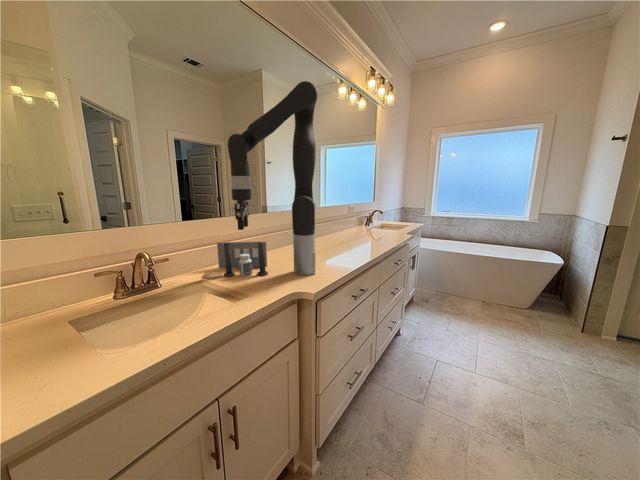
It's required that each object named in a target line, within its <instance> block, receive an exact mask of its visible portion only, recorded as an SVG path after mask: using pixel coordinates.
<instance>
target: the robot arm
mask: <svg viewBox="0 0 640 480" xmlns="http://www.w3.org/2000/svg"><path fill="white" fill-rule="evenodd" d="M317 100H318V90H317V88H316V86H315V85H314V84H313V82H311V81H307V80H305V81H301V82H299V83H297V85H296V86H295V87H293V88H292V90H291V91H290V92H289V93H288V94H287V95H286V96H285V97H284V98H283V99H282V100H281V101H279V102H278V103H277V104H276V105H274V106H273V107H271V108H270V109H269V110H268V111H266V112H265V113H263V114H262V115H261V116H260V117H258V118H257V119H255V120H254V121H253V122H251V123H250V124H249V125H248V126H247V128H246V130H245V131H244V132H242V133H241V134H240V133H233V134H231V135H230V136H229V137H228V141H227V150H228V156H229V161H230V162H229V163H230V177H231V178H230V189H231V200H233V201H236V202H237V203H235V204H234V212H235V214H234V215H235V217H234V218H235V220H236V221H237V229H238V231H243V230H244V229H245V228H247V227H249V221H248V220H249V219H248V218H249V215H250V212H249V210H250V209H249V201H251V200H252V185H251V184H252V183H251V178H250V176H251V175H250V164H249V162H248V161H249V160H248V153H249V152H251V150H253V149H254V148H255V147H256V146H257V145H258V144H259V143H260V142H262V141H263V140H265V139H266V138H268V137H269V136H270V135H272V134H273V133H274V132H275V131H277V130H278V129H279V128H280V127H281V126H282V125H283V124H284V123H286V121H287V120H288V119H289V118H290V117H292V116H293V115H294V133H293V141H292V167H293V169H292V170H293V176H294V186H295V187H294V196H293V202H292V204H291V205H292V206H291V213H292V214H291V219H292V221H291V223H292V233H293V234H292V235H293V236H292V239H293V241H292V242H293V246H292V247H293V250H292V251H293V273H294V274H295V275H298V276H310V275H315V274H316V249H315V247H316V241H315V239H316V235H315V231H316V229H315V228H316V226H315V225H316V224H315V223H316V220H315V219H316V218H315V217H316V207H315V202H314V196H313V195H314V193H313V180H314V175H315V167H316V141H315V140H316V139H315V134H314V133H315V132H314V115H315V107H316V104H317Z"/></svg>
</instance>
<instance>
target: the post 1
mask: <svg viewBox="0 0 640 480" xmlns="http://www.w3.org/2000/svg"><path fill="white" fill-rule="evenodd" d="M224 251H225V263H226V268H225V272H224V274H223V277H225V278H232V277H234V276H235V275H236V274H235V272H234V271H233V268H232V262H231V249H230V243H224Z"/></svg>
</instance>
